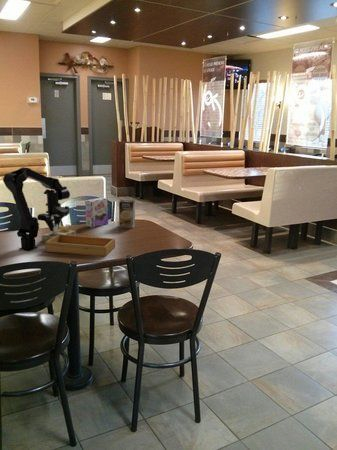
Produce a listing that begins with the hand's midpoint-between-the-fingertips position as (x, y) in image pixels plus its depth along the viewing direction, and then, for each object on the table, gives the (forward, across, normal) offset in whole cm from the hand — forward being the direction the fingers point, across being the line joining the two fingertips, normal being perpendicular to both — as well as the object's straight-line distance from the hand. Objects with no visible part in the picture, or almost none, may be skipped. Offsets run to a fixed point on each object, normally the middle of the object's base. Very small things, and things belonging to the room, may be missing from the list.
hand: (54, 230), depth 218 cm
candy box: (+6, +38, -1) cm, 38 cm away
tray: (+6, -7, -23) cm, 25 cm away
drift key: (+5, +8, 0) cm, 10 cm away
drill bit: (+6, 0, 0) cm, 6 cm away
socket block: (+6, +4, 0) cm, 7 cm away
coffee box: (+6, +44, -19) cm, 48 cm away
